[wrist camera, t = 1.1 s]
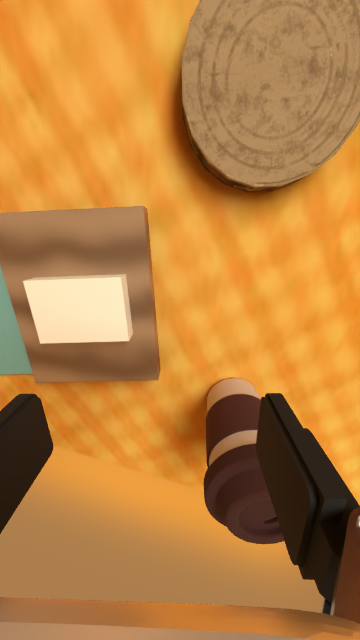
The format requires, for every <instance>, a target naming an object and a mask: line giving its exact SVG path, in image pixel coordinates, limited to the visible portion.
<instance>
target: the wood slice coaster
mask: <svg viewBox="0 0 360 640" xmlns="http://www.w3.org/2000/svg"><path fill="white" fill-rule="evenodd" d="M181 64H182V106H183V120H184V123H185V126H186V130H187V133H188V137H189V140H190V144H191V147H192V148H193V150H194V151H195V153H196V155H197V156H198V158H199V159H200V161H201V162H202V164H203V166H204V167H205V169H206V170H207V171H209V172H210V173H211V174H212V175H214V176H215V177H216V178H217V179H219V180H220V181H221V182H222V183H224V184H225V185H227V186H230V187H233V188H236V189H239V190H243V191H246V192H264V191H274V190H276V189H279V188H281V187H284V186H286V185H289V184H291V183H294V182H296V181H298V180H300V179H302V178H304V177H306V176H308V175H310V174H311V173H312V172H313V171H315V170H316V169H317V168H319V167H320V166H321V165H322V164H324V163H325V162H326V161H328V160H329V159H330V158H331V157H333V156H334V155H335V154H336V153H337V151H338V150H339V149H340V148H341V146H342V145H343V144H344V142H345V141H346V140H347V138H348V137H349V136H350V135H351V133H352V132H353V131H354V129H355V128H356V127H357V125H358V123H359V121H360V0H200V2H199V4H198V6H197V8H196V10H195V12H194V14H193V16H192V18H191V20H190V24H189V29H188V34H187V38H186V43H185V47H184V52H183V57H182V61H181Z"/></svg>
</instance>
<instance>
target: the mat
mask: <svg viewBox="0 0 360 640" xmlns="http://www.w3.org/2000/svg"><path fill="white" fill-rule="evenodd" d="M7 374H33V372H32V368H31V365H30V362H29V358H28V355H27V352H26V349H25V345H24V342H23V339H22V335H21V332H20V329H19V326H18V322H17V319H16V316H15V312H14V309H13V306H12V303H11V299H10V296H9V293H8V289H7V286H6V283H5V280H4V276H3V273H2V270H1V266H0V375H7Z"/></svg>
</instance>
